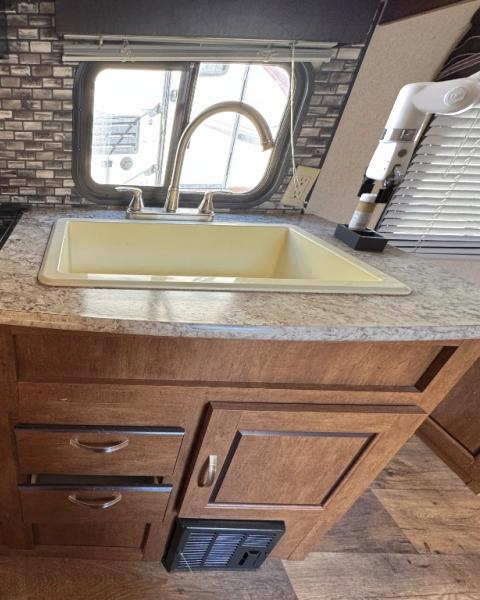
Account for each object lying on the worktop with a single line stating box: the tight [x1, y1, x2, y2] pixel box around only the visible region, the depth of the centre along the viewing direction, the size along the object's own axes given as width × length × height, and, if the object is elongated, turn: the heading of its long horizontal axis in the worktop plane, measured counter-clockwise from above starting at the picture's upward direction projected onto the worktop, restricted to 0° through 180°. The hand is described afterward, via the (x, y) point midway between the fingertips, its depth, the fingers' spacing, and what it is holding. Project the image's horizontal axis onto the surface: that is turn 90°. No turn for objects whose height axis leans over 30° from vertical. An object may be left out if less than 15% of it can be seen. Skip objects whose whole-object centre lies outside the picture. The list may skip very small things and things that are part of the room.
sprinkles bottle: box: [348, 193, 379, 231], centre depth 98 cm, size 5×5×13 cm
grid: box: [332, 222, 390, 253], centre depth 98 cm, size 7×14×4 cm, turn 165°
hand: (371, 199), depth 95 cm, fingers open, 9 cm apart
